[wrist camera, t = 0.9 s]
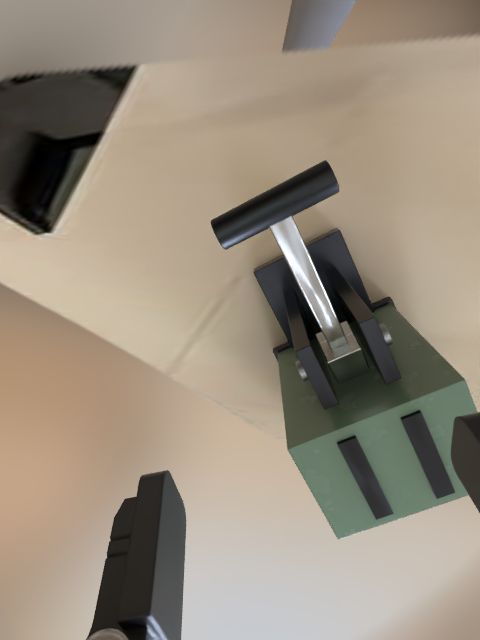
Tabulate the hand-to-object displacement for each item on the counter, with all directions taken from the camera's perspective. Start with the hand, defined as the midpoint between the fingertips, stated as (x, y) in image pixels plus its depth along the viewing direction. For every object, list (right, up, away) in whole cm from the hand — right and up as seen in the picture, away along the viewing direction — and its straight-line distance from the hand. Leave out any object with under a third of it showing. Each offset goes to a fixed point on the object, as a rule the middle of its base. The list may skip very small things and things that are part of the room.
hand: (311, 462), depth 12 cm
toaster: (+8, 0, +28) cm, 29 cm away
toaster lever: (+2, +6, +12) cm, 13 cm away
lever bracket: (+5, +6, +26) cm, 27 cm away
